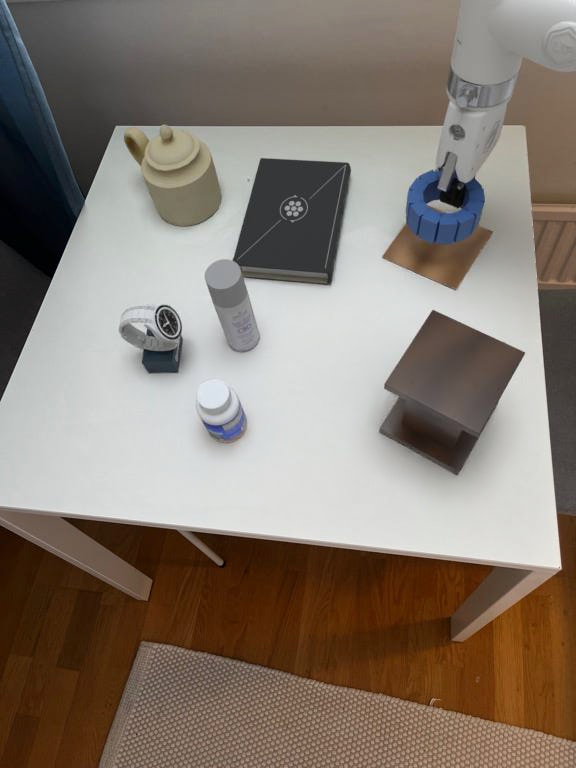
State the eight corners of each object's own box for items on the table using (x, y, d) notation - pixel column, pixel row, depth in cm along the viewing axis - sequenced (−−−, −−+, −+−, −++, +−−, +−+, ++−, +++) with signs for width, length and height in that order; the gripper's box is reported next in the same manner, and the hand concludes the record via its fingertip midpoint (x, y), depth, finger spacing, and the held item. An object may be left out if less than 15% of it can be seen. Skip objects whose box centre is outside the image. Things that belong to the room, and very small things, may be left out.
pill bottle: (199, 425, 77) (180, 394, 69) (229, 398, 79) (213, 364, 70) (226, 451, 75) (209, 423, 67) (256, 423, 77) (243, 392, 68)
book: (331, 285, 85) (331, 272, 83) (235, 276, 88) (231, 264, 85) (351, 176, 94) (351, 162, 92) (262, 171, 97) (260, 157, 94)
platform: (496, 405, 74) (525, 352, 62) (457, 475, 71) (479, 434, 58) (419, 367, 78) (432, 309, 66) (378, 431, 75) (384, 383, 62)
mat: (492, 233, 87) (493, 231, 86) (455, 290, 83) (456, 288, 82) (420, 204, 90) (420, 202, 90) (382, 257, 87) (382, 256, 86)
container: (247, 357, 81) (227, 295, 68) (221, 343, 83) (195, 280, 69) (266, 332, 83) (249, 267, 70) (239, 319, 84) (218, 252, 71)
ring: (490, 205, 82) (497, 183, 78) (458, 254, 78) (464, 235, 75) (426, 180, 85) (429, 159, 81) (393, 227, 81) (395, 207, 78)
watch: (192, 372, 81) (170, 331, 71) (136, 373, 82) (107, 332, 72) (196, 337, 84) (175, 293, 74) (142, 338, 85) (114, 295, 75)
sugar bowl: (127, 224, 95) (90, 151, 81) (144, 174, 100) (112, 97, 86) (215, 228, 92) (191, 153, 79) (228, 177, 97) (208, 98, 84)
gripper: (481, 133, 62) (453, 245, 79) (542, 46, 67) (504, 168, 84) (418, 111, 64) (404, 224, 81) (482, 28, 70) (456, 151, 86)
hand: (455, 195), depth 82 cm, fingers closed on ring, 2 cm apart
